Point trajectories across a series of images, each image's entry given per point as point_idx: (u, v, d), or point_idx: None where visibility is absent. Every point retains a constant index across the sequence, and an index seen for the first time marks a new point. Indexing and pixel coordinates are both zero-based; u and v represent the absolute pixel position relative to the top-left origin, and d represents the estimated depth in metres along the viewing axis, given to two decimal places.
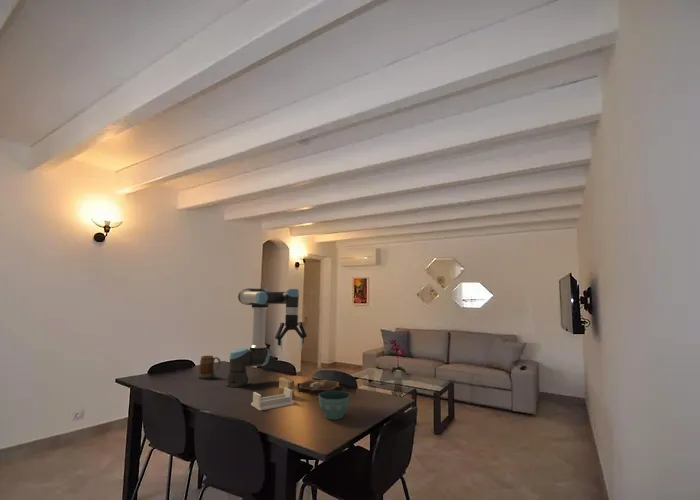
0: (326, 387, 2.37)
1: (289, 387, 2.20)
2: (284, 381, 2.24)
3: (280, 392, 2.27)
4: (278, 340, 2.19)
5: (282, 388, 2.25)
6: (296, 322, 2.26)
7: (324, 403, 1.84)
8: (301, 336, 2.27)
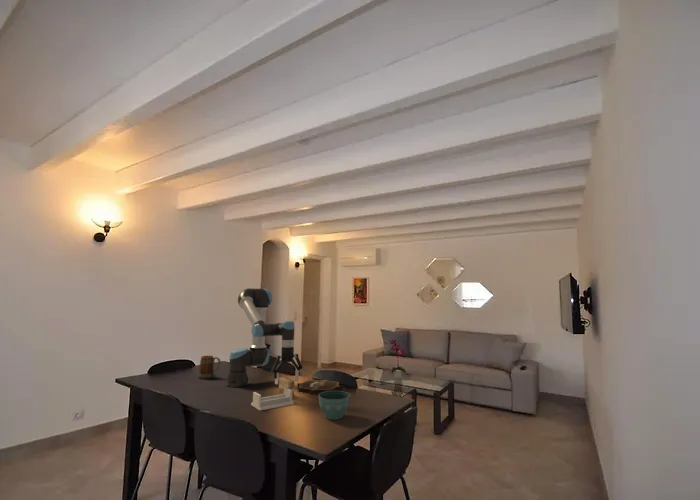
0: (326, 387, 2.37)
1: (289, 387, 2.20)
2: (284, 381, 2.24)
3: (280, 392, 2.27)
4: (274, 373, 2.21)
5: (282, 388, 2.25)
6: (292, 354, 2.28)
7: (324, 403, 1.84)
8: (297, 368, 2.29)
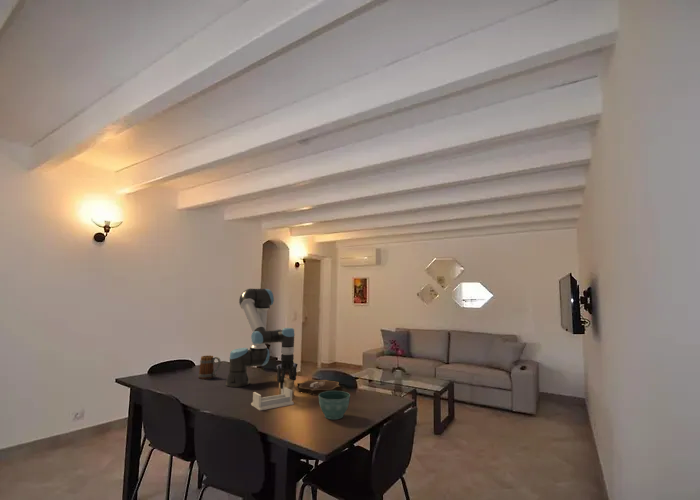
0: (326, 387, 2.37)
1: (289, 387, 2.20)
2: (284, 381, 2.24)
3: (280, 392, 2.27)
4: (280, 383, 2.23)
5: None
6: (292, 361, 2.28)
7: (324, 403, 1.84)
8: (291, 379, 2.26)
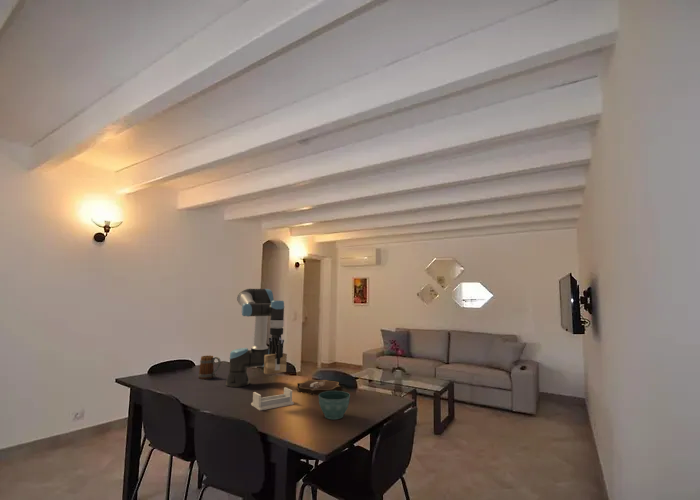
0: (326, 387, 2.37)
1: (265, 361, 2.09)
2: None
3: None
4: None
5: None
6: (277, 336, 2.10)
7: (324, 403, 1.84)
8: None
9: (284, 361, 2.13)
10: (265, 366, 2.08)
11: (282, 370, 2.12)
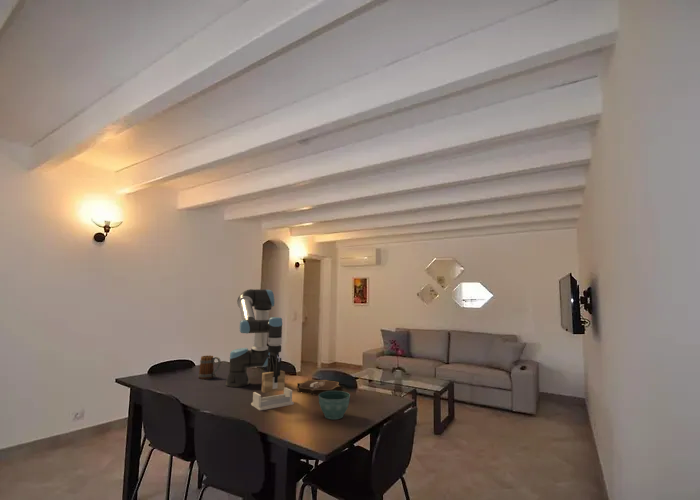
0: (326, 387, 2.37)
1: (262, 379, 2.07)
2: None
3: None
4: None
5: None
6: (275, 354, 2.08)
7: (324, 403, 1.84)
8: None
9: (282, 379, 2.10)
10: (262, 384, 2.06)
11: (280, 388, 2.09)
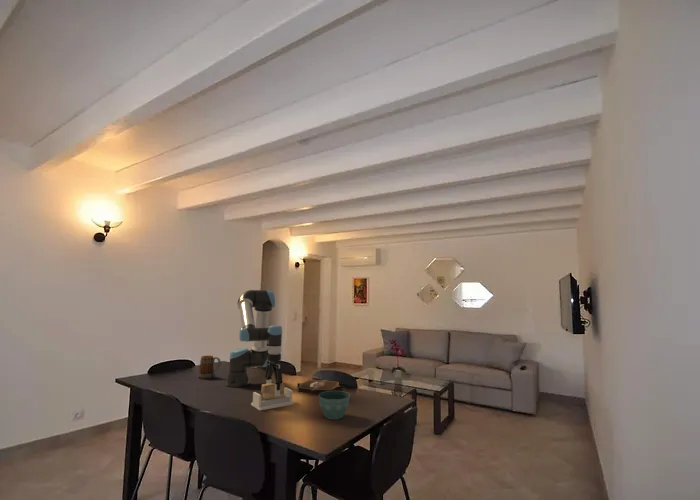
0: (326, 387, 2.37)
1: (262, 391, 2.06)
2: None
3: None
4: None
5: None
6: (274, 363, 2.08)
7: (324, 403, 1.84)
8: None
9: (282, 391, 2.10)
10: (262, 396, 2.05)
11: None
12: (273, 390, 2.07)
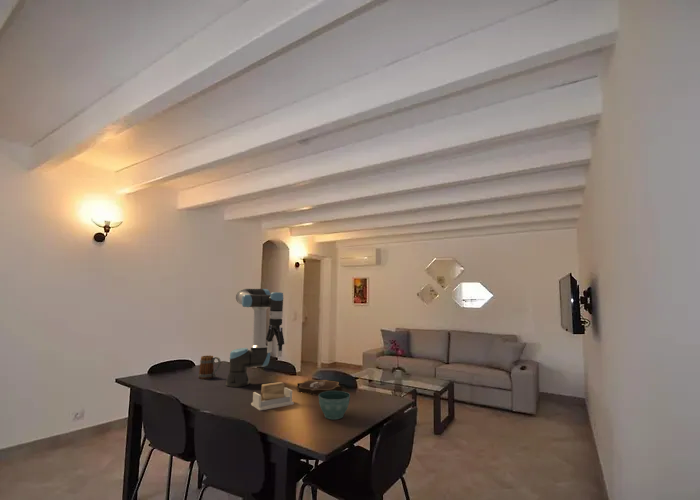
0: (326, 387, 2.37)
1: (262, 391, 2.06)
2: None
3: None
4: None
5: None
6: (275, 327, 2.19)
7: (324, 403, 1.84)
8: None
9: (282, 391, 2.10)
10: (262, 396, 2.05)
11: None
12: (273, 390, 2.07)
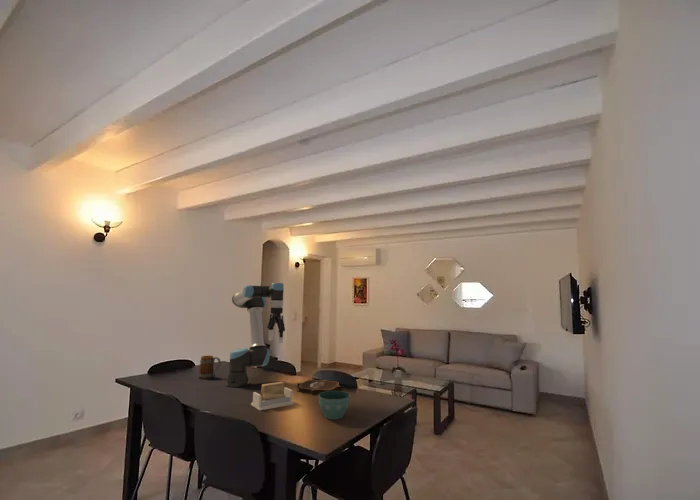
0: (326, 387, 2.37)
1: (262, 391, 2.06)
2: None
3: None
4: None
5: None
6: (276, 315, 2.32)
7: (324, 403, 1.84)
8: None
9: (282, 391, 2.10)
10: (262, 396, 2.05)
11: None
12: (273, 390, 2.07)
